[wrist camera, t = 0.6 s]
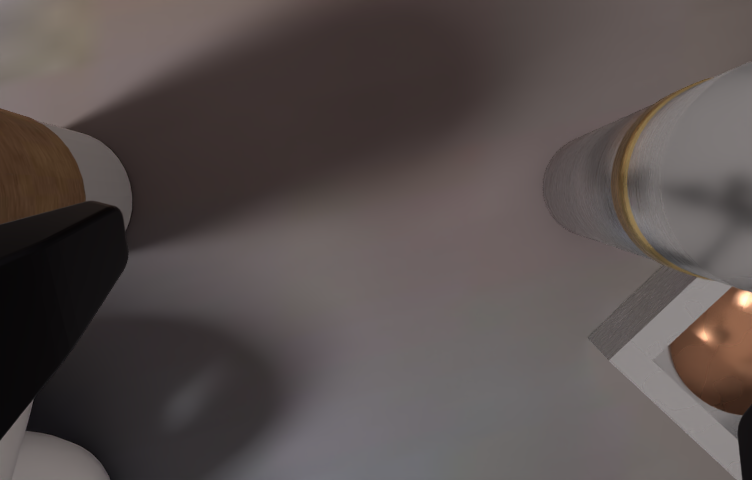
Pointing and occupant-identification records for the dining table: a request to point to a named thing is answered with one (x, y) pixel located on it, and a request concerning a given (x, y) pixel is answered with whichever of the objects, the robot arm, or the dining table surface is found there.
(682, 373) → the white square flat box
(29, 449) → the white knot sculpture
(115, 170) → the coffee cup
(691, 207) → the tube
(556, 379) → the dining table surface
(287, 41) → the dining table surface
